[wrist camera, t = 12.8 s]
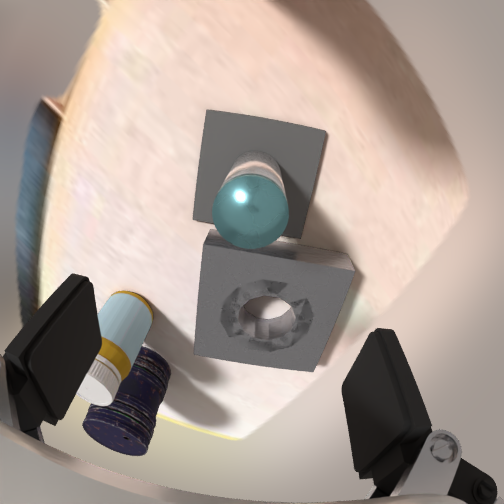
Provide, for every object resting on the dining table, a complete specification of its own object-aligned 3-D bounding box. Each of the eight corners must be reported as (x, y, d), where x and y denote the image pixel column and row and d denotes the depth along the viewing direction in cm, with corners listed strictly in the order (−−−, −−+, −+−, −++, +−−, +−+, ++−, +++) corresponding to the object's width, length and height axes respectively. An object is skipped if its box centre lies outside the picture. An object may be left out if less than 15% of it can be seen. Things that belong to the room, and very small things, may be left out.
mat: (207, 109, 28) (206, 109, 28) (325, 130, 29) (325, 131, 28) (193, 217, 34) (192, 219, 33) (300, 236, 34) (300, 238, 34)
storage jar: (143, 389, 49) (119, 457, 36) (105, 353, 45) (70, 422, 32) (183, 376, 46) (162, 454, 33) (142, 336, 43) (107, 415, 29)
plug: (235, 146, 29) (217, 170, 19) (285, 155, 30) (296, 184, 19) (228, 193, 32) (208, 242, 21) (275, 201, 32) (280, 254, 21)
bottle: (163, 310, 40) (125, 396, 27) (140, 335, 42) (104, 414, 29) (122, 278, 38) (68, 357, 25) (103, 307, 41) (55, 381, 27)
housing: (210, 228, 34) (203, 244, 31) (347, 253, 35) (355, 270, 31) (199, 334, 41) (193, 354, 38) (310, 351, 42) (313, 372, 38)
